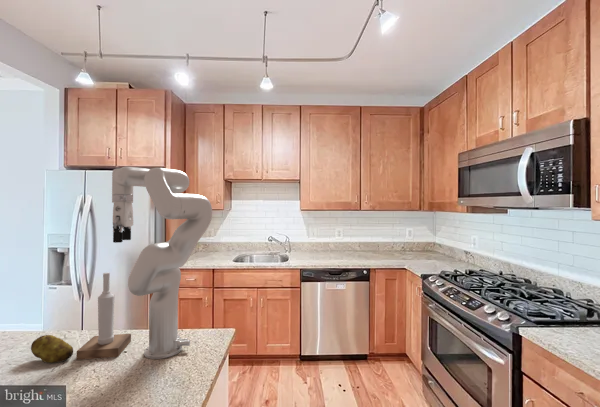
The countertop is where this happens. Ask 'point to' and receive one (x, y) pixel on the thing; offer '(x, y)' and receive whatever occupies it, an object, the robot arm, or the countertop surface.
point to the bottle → (106, 313)
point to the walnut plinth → (103, 347)
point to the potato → (51, 349)
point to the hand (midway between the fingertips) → (122, 241)
